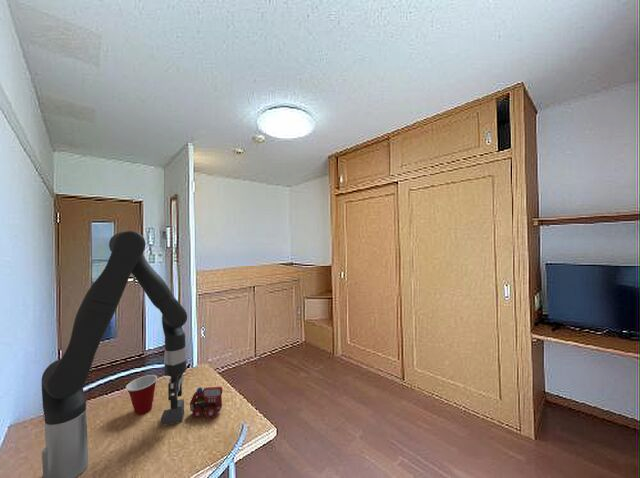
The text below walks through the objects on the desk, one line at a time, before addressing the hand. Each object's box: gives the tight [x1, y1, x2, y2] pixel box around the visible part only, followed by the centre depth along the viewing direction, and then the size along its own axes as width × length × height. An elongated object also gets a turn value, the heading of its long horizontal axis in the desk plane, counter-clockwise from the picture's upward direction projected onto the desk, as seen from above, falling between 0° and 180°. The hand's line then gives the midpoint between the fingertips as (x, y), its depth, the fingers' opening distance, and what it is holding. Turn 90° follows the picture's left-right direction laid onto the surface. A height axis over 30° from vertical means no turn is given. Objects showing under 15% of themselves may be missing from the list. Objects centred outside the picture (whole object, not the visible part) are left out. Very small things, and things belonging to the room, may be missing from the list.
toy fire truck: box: [189, 386, 223, 420], centre depth 111 cm, size 7×12×10 cm, turn 90°
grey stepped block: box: [160, 398, 185, 427], centre depth 108 cm, size 7×5×6 cm
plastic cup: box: [125, 374, 158, 416], centre depth 114 cm, size 11×11×12 cm
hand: (176, 402), depth 108 cm, fingers open, 8 cm apart
